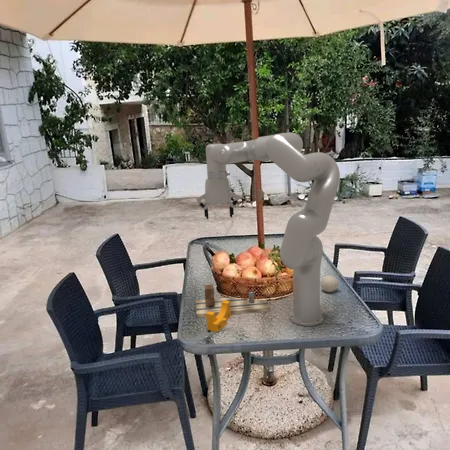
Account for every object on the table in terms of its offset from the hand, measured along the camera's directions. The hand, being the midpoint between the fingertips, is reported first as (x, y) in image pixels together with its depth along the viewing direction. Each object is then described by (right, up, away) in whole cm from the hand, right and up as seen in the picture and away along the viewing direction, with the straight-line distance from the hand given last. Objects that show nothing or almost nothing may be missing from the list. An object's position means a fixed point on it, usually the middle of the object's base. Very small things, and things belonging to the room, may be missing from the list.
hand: (219, 217), depth 167 cm
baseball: (+46, -31, +5) cm, 56 cm away
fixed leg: (+13, -34, -5) cm, 36 cm away
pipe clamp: (+1, -39, -17) cm, 43 cm away
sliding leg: (-3, -34, -6) cm, 35 cm away
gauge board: (+5, -36, -5) cm, 36 cm away
